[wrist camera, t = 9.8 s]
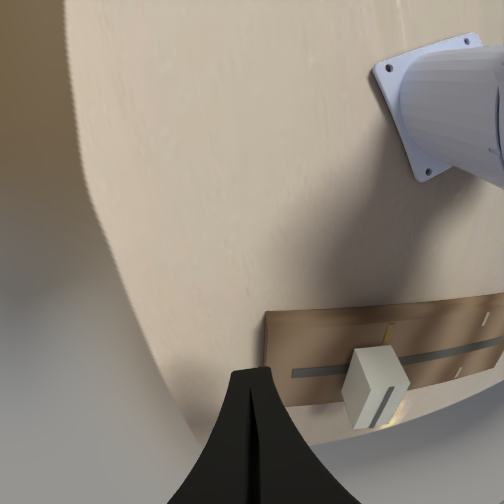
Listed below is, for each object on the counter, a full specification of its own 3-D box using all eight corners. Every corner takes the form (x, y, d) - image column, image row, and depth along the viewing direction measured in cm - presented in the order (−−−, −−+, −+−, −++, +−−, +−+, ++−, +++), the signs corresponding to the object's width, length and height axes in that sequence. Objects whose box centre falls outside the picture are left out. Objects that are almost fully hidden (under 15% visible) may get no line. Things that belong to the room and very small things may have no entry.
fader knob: (390, 344, 22) (410, 384, 18) (373, 386, 24) (388, 424, 20) (354, 348, 22) (371, 391, 18) (341, 391, 24) (353, 431, 20)
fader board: (517, 290, 24) (528, 302, 22) (485, 356, 28) (494, 368, 26) (265, 311, 22) (268, 330, 21) (261, 390, 27) (263, 408, 25)
